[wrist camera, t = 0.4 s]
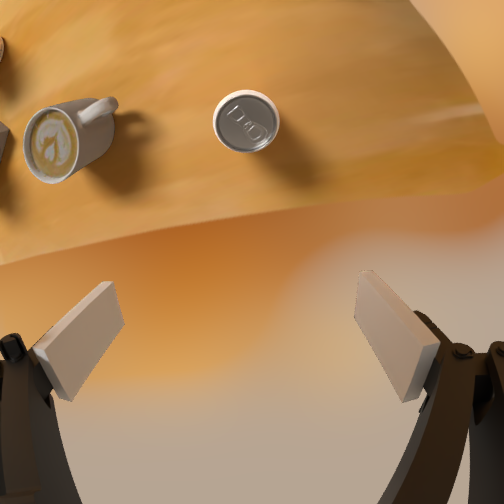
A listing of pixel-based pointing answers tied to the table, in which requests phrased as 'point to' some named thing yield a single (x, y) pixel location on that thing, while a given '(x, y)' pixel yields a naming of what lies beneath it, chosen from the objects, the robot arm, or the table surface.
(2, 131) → the divider rack
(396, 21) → the table surface
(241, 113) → the can
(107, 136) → the coffee mug
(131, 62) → the table surface
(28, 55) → the table surface
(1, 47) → the supplement can
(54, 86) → the table surface
